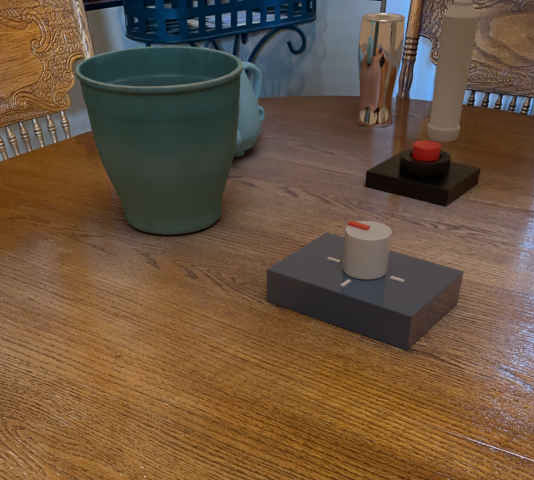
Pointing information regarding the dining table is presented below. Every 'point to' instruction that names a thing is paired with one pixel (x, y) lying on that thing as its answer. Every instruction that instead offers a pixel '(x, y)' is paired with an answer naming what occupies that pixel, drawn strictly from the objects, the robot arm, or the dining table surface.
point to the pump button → (426, 150)
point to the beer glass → (378, 66)
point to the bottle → (452, 70)
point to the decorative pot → (249, 110)
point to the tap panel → (365, 292)
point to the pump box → (423, 178)
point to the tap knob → (366, 249)
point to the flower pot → (165, 131)
